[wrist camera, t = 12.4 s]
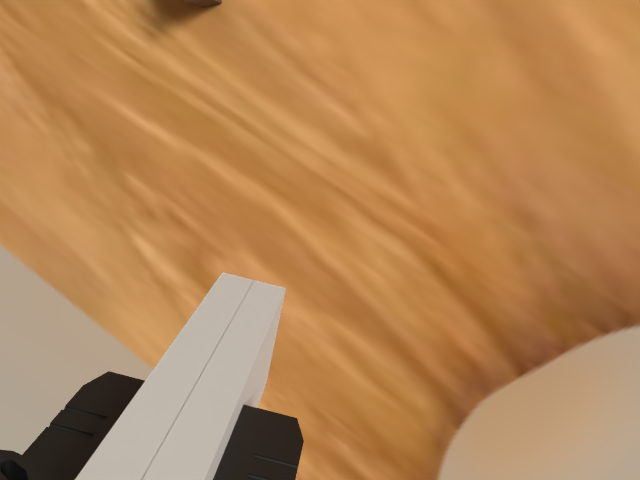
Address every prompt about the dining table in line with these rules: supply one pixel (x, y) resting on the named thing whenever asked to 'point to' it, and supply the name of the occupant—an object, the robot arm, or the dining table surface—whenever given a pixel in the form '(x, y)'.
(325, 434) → the dining table surface
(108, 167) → the dining table surface
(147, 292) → the dining table surface
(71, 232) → the dining table surface
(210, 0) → the wooden tray
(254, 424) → the robot arm
